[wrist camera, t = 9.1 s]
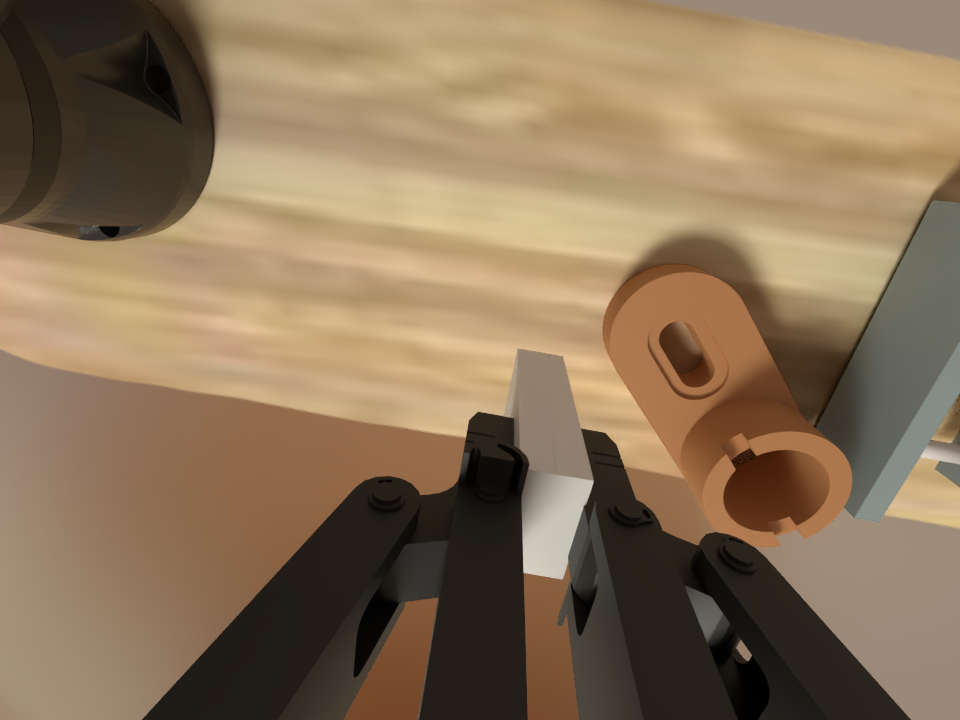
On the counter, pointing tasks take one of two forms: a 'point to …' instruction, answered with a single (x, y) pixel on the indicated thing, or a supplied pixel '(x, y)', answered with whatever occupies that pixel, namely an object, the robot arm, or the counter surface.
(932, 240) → the plate
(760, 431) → the bracket
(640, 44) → the counter surface
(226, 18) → the counter surface
